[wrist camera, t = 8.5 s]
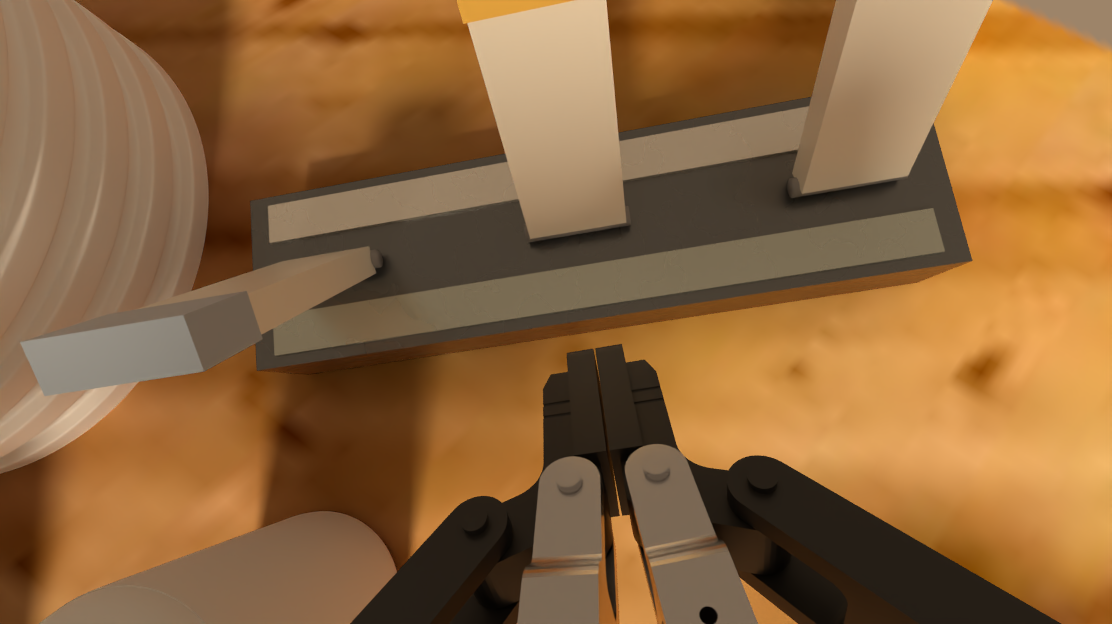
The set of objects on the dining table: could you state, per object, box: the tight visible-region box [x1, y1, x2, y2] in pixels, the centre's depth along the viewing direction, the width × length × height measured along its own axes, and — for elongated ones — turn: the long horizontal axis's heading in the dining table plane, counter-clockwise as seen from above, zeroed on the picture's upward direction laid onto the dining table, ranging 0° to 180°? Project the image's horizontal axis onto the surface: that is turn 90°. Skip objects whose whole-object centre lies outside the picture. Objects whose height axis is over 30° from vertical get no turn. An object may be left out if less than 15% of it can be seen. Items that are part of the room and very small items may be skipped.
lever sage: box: [787, 0, 993, 198], centre depth 17 cm, size 1×4×12 cm, turn 98°
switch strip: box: [250, 97, 972, 375], centre depth 25 cm, size 8×30×4 cm, turn 98°
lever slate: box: [20, 246, 383, 396], centre depth 18 cm, size 1×4×12 cm, turn 98°
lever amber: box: [456, 0, 631, 242], centre depth 18 cm, size 1×4×12 cm, turn 97°
